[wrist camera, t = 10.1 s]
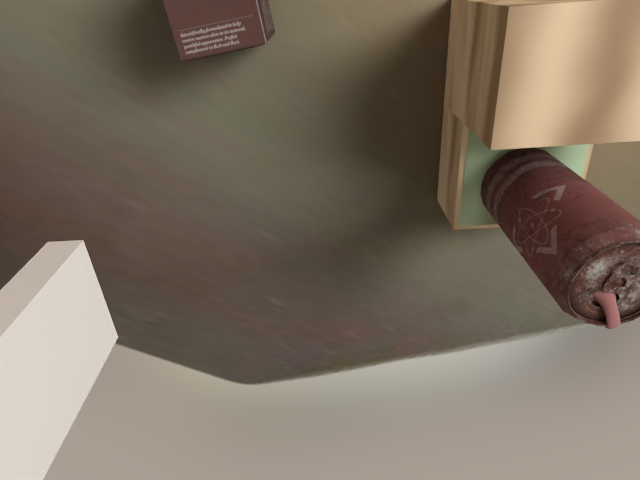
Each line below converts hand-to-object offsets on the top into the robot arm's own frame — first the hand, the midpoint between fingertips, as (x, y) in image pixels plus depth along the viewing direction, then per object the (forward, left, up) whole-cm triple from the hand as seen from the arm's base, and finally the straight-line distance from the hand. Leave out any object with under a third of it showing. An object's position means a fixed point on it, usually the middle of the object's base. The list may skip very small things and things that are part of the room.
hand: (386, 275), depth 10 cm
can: (+14, -9, -25) cm, 30 cm away
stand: (+14, -4, -31) cm, 34 cm away
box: (-8, +5, -31) cm, 33 cm away
